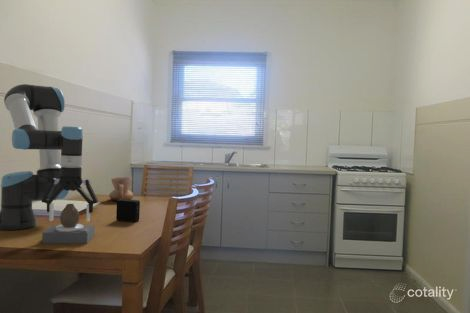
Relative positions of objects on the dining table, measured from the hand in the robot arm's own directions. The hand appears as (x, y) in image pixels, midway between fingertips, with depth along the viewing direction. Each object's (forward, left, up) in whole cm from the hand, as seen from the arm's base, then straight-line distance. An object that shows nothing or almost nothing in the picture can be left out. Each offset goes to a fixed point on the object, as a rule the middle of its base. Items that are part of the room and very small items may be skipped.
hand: (69, 220), depth 148 cm
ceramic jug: (+7, +89, -8) cm, 90 cm away
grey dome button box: (0, 0, -7) cm, 7 cm away
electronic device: (+18, +33, -7) cm, 38 cm away
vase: (0, 0, -2) cm, 2 cm away
